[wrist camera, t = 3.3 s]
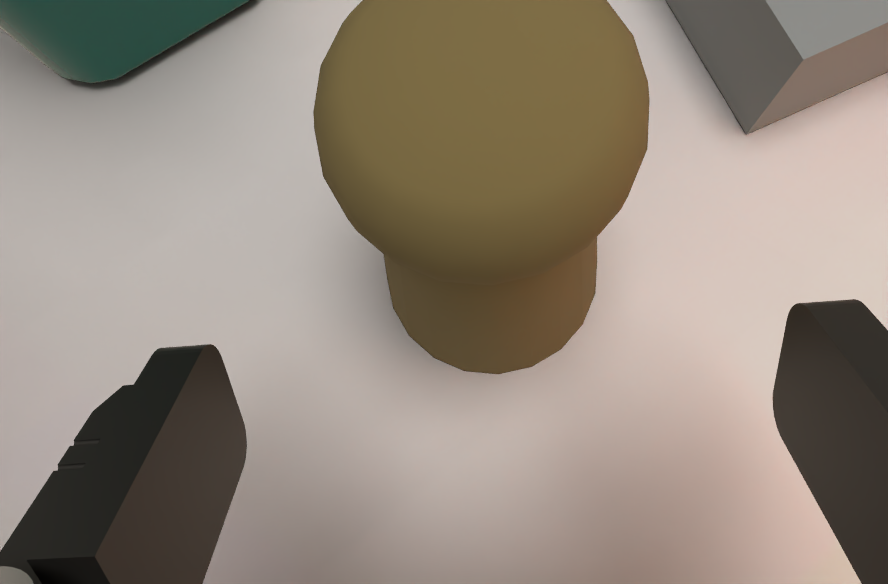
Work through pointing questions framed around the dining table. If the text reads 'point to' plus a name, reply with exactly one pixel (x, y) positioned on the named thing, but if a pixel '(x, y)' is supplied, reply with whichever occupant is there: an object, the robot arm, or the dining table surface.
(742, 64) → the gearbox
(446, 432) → the dining table surface
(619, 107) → the cork
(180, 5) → the pitcher
